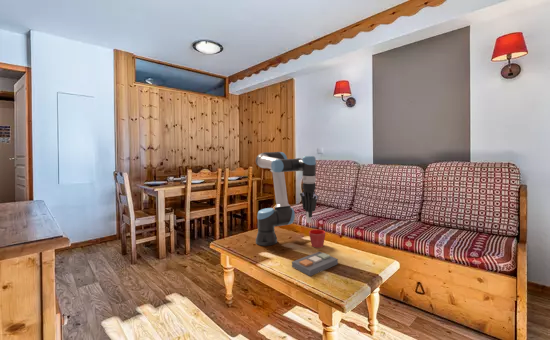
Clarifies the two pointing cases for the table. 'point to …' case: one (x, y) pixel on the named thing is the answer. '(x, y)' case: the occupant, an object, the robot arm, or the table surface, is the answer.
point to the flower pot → (317, 238)
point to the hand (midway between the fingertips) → (308, 222)
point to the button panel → (315, 264)
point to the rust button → (305, 262)
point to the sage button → (323, 256)
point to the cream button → (315, 259)
